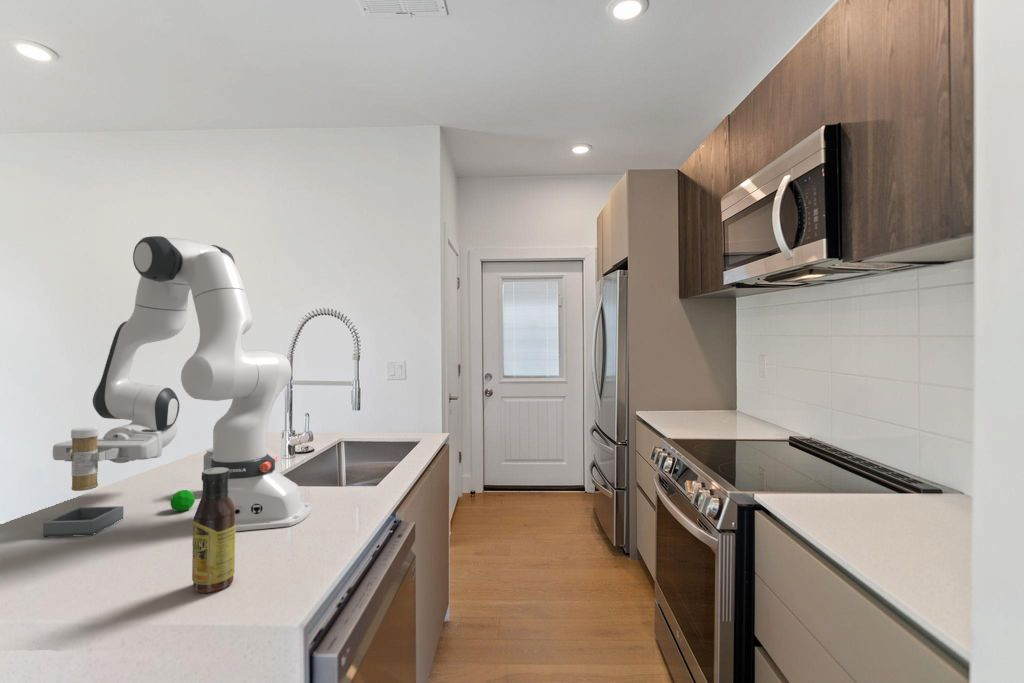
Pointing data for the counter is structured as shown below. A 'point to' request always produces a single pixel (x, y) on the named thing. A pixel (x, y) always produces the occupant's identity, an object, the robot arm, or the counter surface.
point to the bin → (83, 521)
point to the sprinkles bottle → (84, 458)
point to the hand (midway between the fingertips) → (81, 457)
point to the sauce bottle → (214, 534)
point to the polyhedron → (182, 500)
